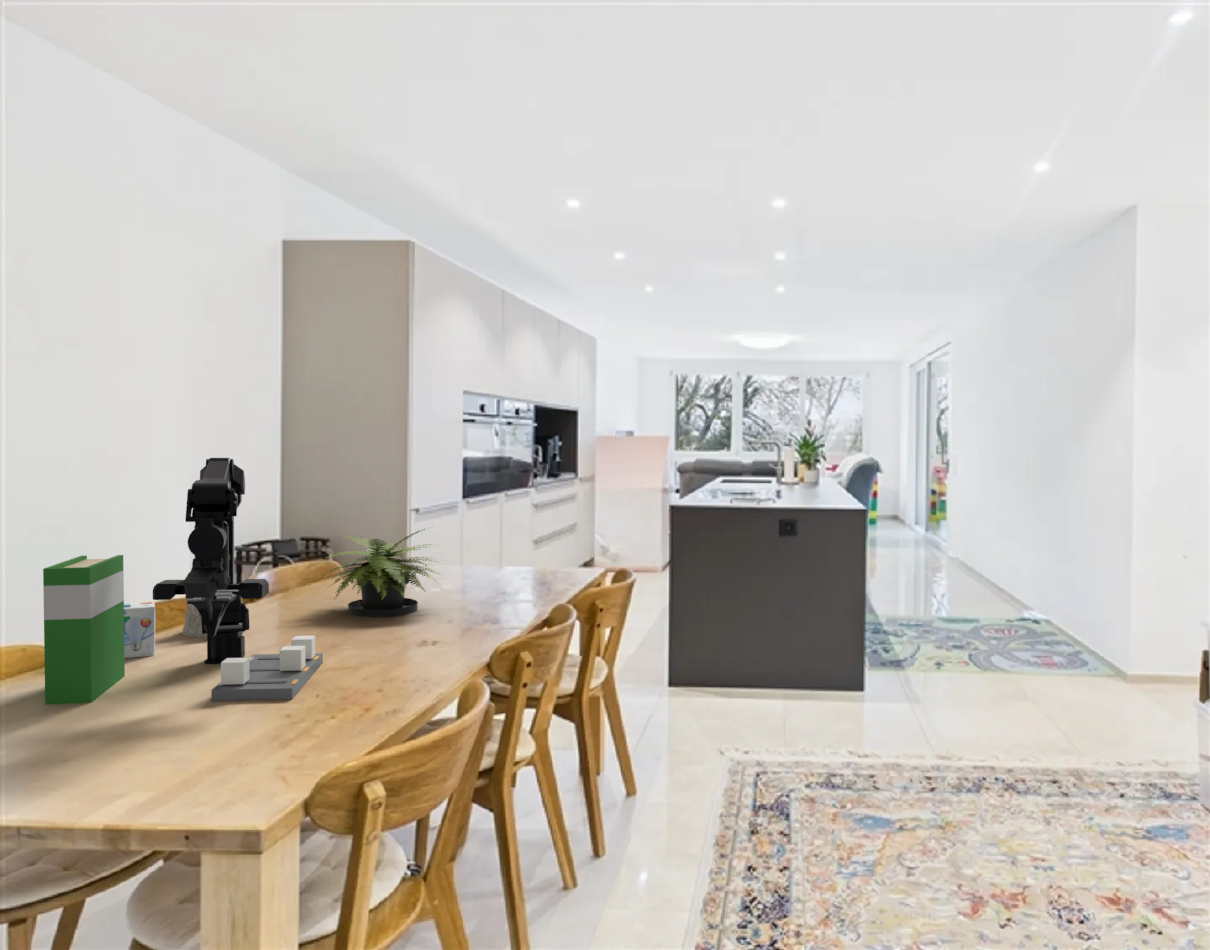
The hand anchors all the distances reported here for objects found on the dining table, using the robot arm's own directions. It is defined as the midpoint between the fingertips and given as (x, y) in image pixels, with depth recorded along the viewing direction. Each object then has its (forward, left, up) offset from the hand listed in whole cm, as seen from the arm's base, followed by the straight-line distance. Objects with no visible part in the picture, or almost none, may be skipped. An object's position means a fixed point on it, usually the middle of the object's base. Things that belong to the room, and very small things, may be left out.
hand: (212, 635), depth 160 cm
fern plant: (+20, +79, -11) cm, 82 cm away
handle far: (+12, +18, -8) cm, 23 cm away
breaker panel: (+8, +9, -11) cm, 16 cm away
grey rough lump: (-16, +55, -11) cm, 58 cm away
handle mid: (+12, +9, -8) cm, 17 cm away
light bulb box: (-28, +32, -11) cm, 44 cm away
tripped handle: (+4, 0, -9) cm, 9 cm away
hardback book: (-24, +5, -11) cm, 27 cm away
